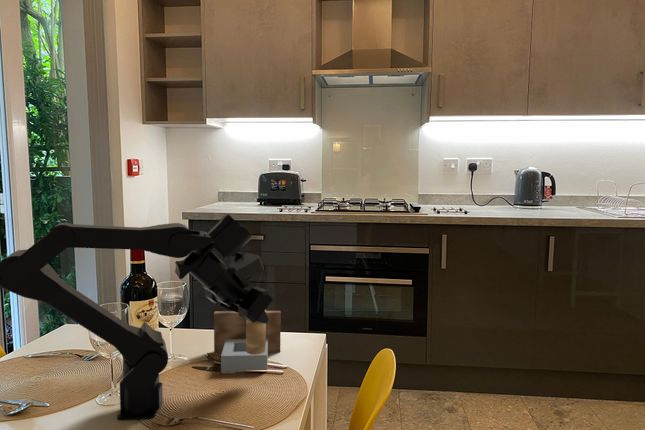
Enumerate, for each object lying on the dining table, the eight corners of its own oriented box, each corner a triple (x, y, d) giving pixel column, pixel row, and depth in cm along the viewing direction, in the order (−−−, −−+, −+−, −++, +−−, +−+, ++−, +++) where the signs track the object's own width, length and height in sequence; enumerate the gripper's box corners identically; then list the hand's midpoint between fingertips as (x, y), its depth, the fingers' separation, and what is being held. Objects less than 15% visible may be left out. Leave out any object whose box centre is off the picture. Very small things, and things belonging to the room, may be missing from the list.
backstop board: (214, 353, 113) (214, 313, 112) (215, 350, 114) (214, 311, 113) (280, 352, 114) (280, 312, 113) (280, 349, 116) (280, 310, 115)
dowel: (245, 354, 95) (245, 295, 94) (246, 347, 99) (247, 289, 98) (264, 354, 95) (265, 295, 94) (265, 347, 99) (266, 290, 98)
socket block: (221, 373, 102) (221, 355, 101) (226, 355, 112) (226, 339, 111) (266, 372, 103) (267, 355, 102) (267, 354, 113) (268, 338, 112)
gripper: (265, 249, 85) (311, 298, 93) (218, 236, 100) (261, 279, 108) (226, 297, 81) (277, 344, 89) (183, 277, 95) (231, 319, 104)
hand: (261, 318), depth 98 cm, fingers closed on dowel, 4 cm apart
